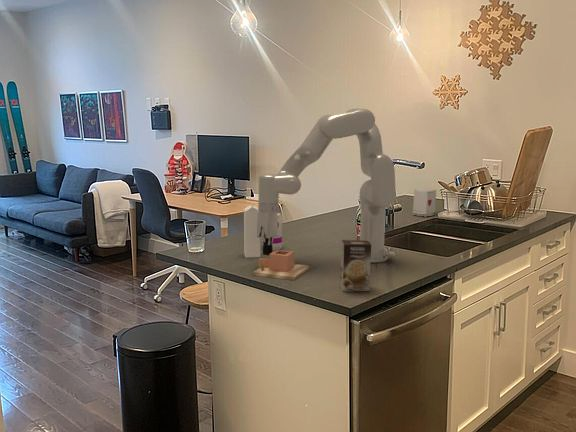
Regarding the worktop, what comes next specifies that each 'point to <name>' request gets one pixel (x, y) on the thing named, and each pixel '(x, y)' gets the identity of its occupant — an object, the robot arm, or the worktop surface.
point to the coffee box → (355, 265)
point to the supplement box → (424, 201)
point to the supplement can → (278, 235)
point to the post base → (289, 275)
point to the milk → (251, 232)
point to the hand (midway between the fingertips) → (267, 254)
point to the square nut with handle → (278, 261)
